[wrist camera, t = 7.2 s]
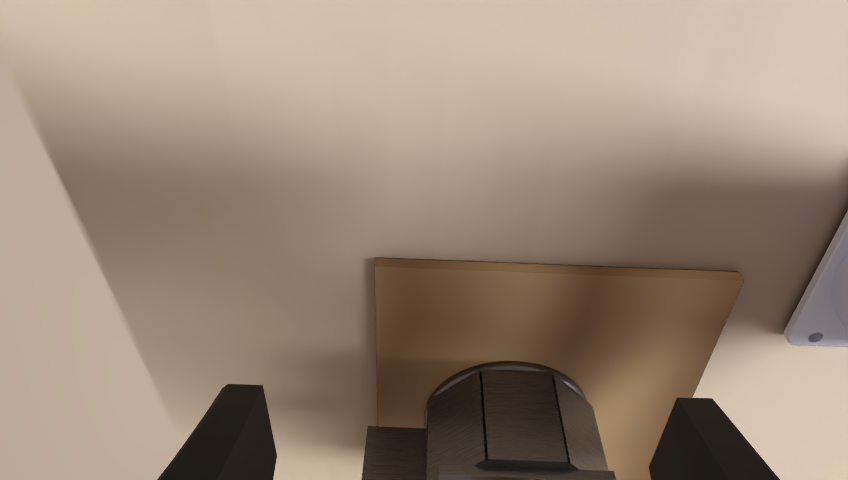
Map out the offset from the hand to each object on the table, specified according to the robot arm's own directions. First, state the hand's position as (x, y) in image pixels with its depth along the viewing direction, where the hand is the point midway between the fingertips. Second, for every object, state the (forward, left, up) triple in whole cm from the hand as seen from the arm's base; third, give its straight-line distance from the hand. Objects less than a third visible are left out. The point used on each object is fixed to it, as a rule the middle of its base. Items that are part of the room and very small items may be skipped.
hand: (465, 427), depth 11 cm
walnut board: (-4, +13, -10) cm, 17 cm away
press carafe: (-2, +12, -10) cm, 16 cm away
